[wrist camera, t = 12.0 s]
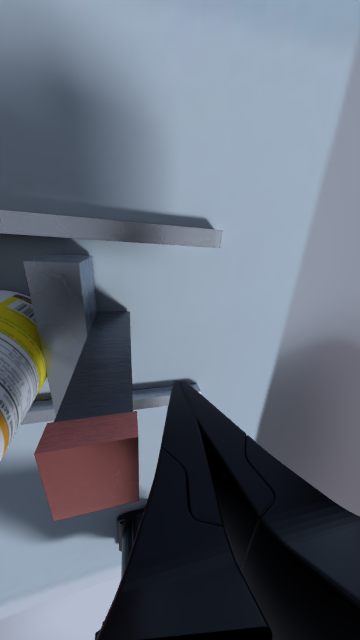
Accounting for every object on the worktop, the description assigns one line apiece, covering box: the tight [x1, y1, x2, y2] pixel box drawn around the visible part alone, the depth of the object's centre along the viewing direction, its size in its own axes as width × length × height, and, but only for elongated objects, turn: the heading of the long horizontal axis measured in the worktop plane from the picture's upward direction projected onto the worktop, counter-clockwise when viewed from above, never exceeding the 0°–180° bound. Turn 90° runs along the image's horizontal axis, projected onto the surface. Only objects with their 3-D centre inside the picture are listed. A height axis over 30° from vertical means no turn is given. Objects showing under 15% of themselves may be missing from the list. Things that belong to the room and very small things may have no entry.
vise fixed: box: [0, 210, 223, 425], centre depth 11 cm, size 13×19×4 cm
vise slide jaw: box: [23, 254, 139, 521], centre depth 9 cm, size 9×4×9 cm, turn 176°
